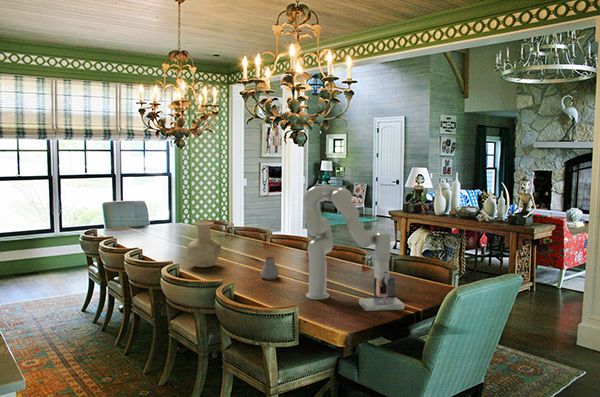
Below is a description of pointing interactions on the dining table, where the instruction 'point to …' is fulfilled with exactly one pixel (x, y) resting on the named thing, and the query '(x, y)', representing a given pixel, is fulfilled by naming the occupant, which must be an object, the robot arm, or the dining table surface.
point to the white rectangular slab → (381, 304)
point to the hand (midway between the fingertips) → (381, 291)
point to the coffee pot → (268, 268)
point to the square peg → (378, 284)
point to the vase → (204, 247)
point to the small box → (389, 290)
